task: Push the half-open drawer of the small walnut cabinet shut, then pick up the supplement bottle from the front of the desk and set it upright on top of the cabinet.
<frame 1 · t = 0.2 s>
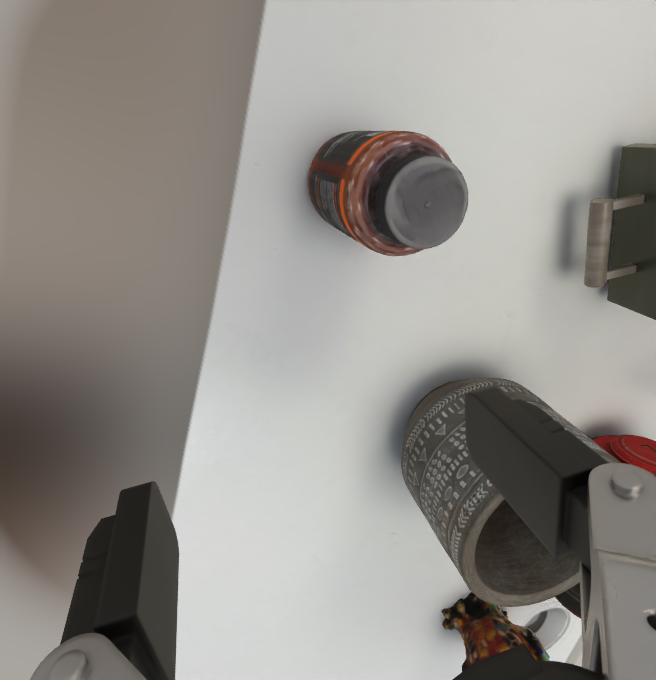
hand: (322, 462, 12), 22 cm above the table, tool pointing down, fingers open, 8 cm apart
planter: (451, 422, 41), on the table
supplement bottle: (350, 181, 31), on the table
headphones: (576, 492, 49), on the table
figurine: (471, 610, 52), on the table
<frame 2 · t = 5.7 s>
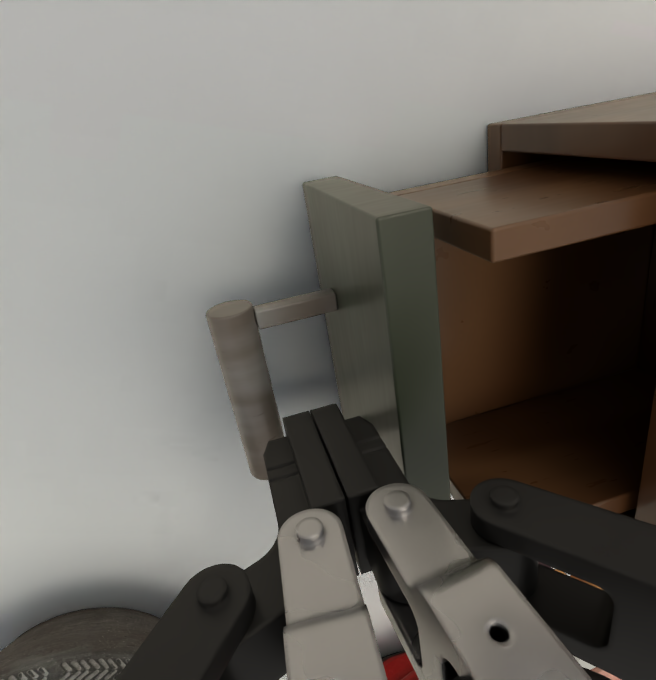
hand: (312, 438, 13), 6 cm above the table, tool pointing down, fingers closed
planter: (96, 667, 23), on the table
drawer: (500, 348, 16), point 4 cm above the table, slide at 5.9 cm, touching gripper
cabinet: (641, 252, 21), on the table
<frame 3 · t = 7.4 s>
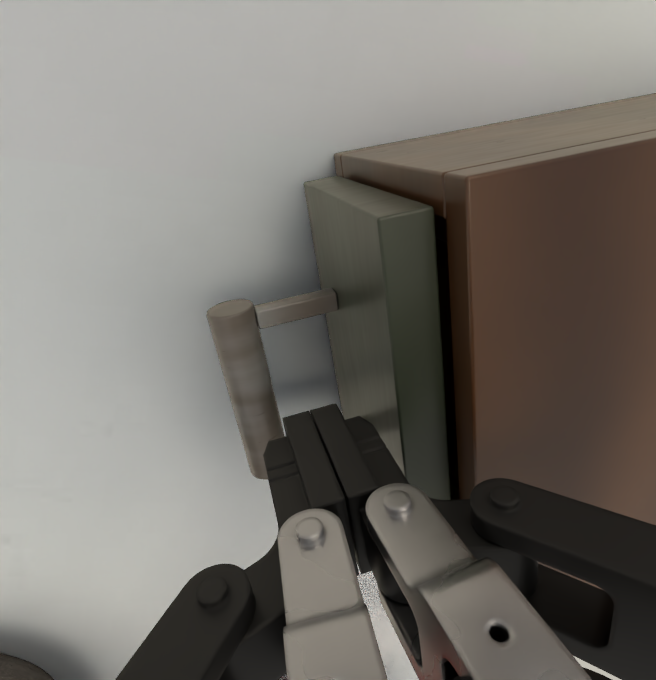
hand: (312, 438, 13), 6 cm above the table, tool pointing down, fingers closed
drawer: (500, 349, 16), point 5 cm above the table, slide at 0.2 cm, touching gripper
cabinet: (524, 283, 20), on the table
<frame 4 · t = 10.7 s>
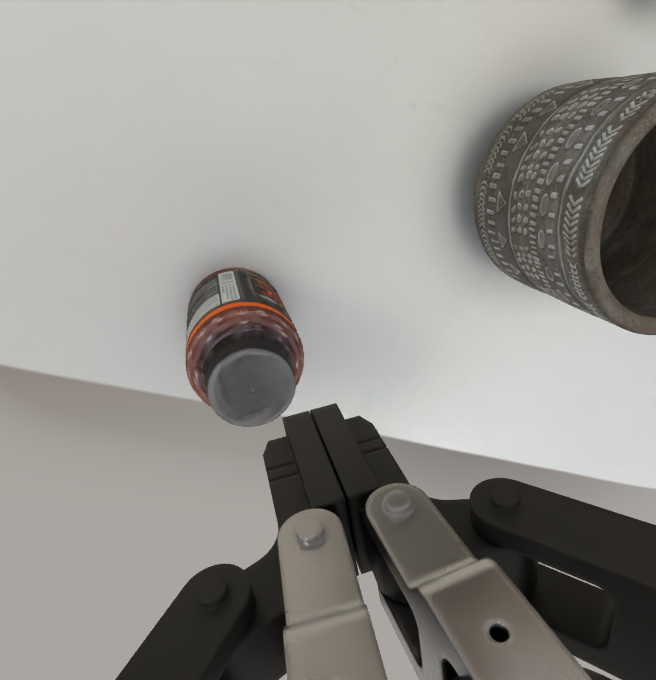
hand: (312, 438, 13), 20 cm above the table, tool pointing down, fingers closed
planter: (527, 185, 34), on the table
supplement bottle: (234, 308, 32), on the table
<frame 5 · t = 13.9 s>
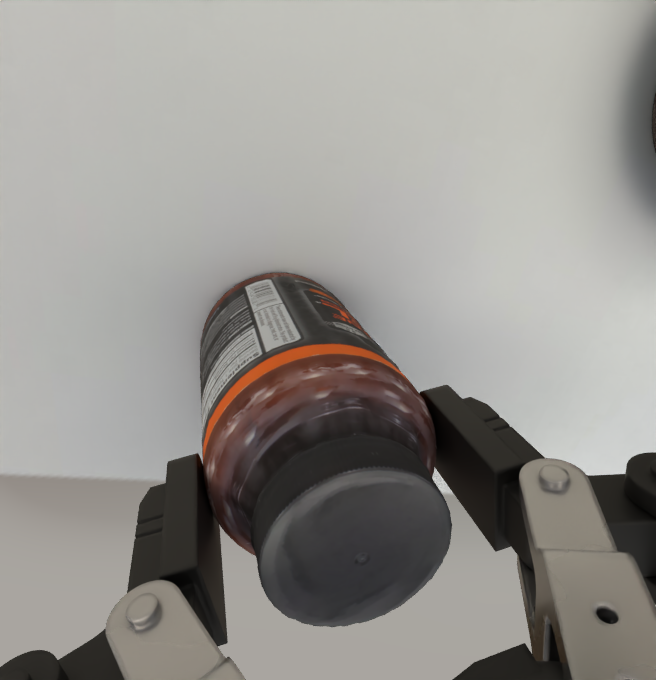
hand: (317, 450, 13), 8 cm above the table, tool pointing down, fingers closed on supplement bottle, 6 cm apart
supplement bottle: (274, 337, 20), on the table, touching gripper
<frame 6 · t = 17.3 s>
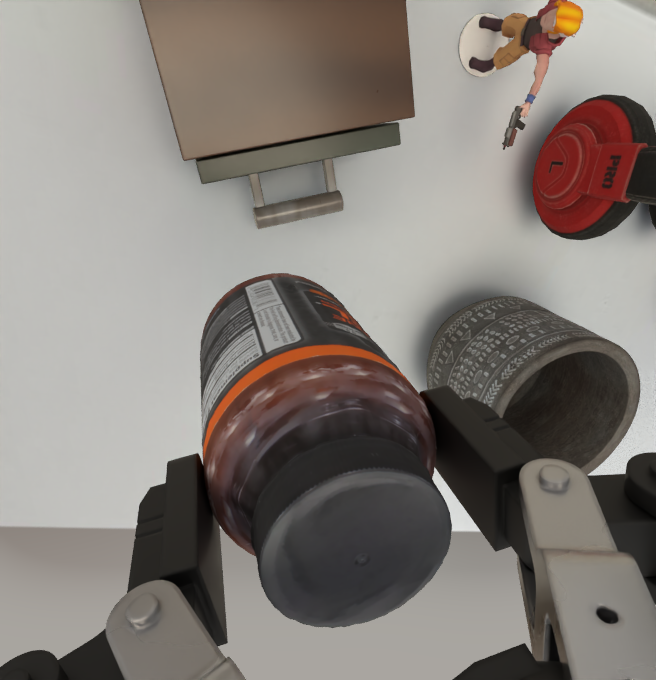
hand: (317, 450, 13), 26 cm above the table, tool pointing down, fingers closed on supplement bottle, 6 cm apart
planter: (469, 347, 45), on the table
action figure: (481, 62, 36), on the table
drawer: (276, 73, 28), point 5 cm above the table, slide at 0.2 cm
supplement bottle: (274, 338, 20), point 18 cm above the table, touching gripper
headphones: (600, 174, 42), on the table
cabinet: (252, 12, 31), on the table
when the fingers open (17 cm above the table, at t = 20.7 s): supplement bottle stays where it is, resting on cabinet.
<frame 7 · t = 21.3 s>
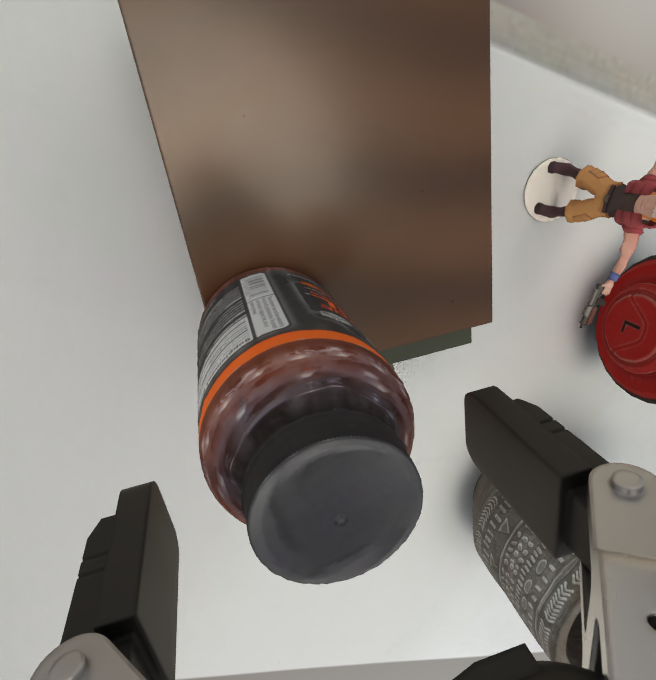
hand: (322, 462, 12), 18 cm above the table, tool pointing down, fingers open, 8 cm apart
planter: (515, 483, 41), on the table
action figure: (547, 205, 32), on the table
drawer: (330, 258, 25), point 4 cm above the table, slide at 0.2 cm
supplement bottle: (268, 329, 21), point 9 cm above the table, touching cabinet
cabinet: (299, 171, 27), on the table
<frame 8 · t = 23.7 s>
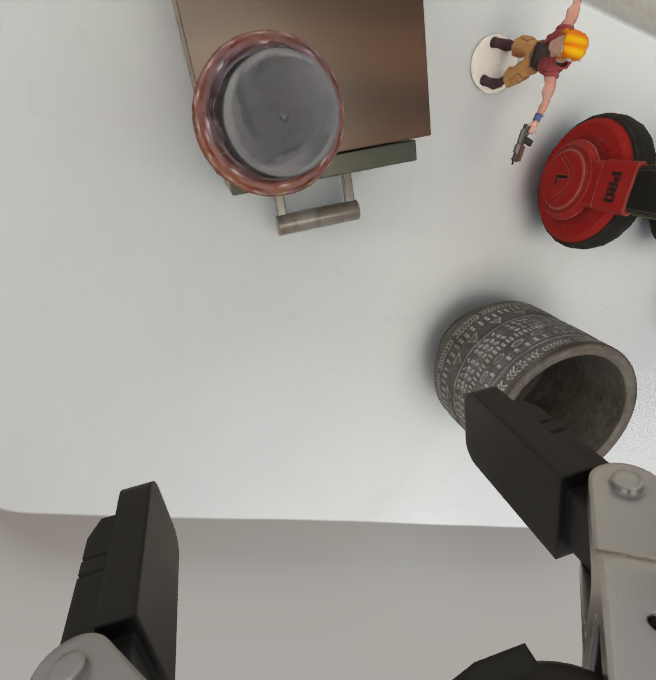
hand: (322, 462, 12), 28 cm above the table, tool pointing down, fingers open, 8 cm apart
planter: (475, 348, 47), on the table
action figure: (491, 79, 38), on the table
drawer: (302, 92, 30), point 4 cm above the table, slide at 0.2 cm
supplement bottle: (249, 122, 26), point 9 cm above the table, touching cabinet
headphones: (603, 185, 44), on the table
cabinet: (278, 32, 33), on the table
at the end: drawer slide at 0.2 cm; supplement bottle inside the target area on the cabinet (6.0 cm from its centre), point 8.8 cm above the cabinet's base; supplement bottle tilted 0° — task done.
